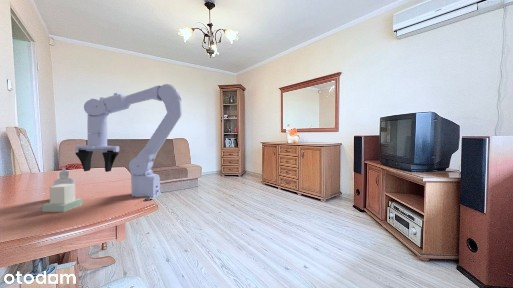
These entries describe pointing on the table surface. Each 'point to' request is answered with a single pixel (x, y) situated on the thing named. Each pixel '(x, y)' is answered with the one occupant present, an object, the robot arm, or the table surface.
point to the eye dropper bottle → (64, 178)
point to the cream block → (62, 193)
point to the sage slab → (62, 206)
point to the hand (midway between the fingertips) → (97, 171)
